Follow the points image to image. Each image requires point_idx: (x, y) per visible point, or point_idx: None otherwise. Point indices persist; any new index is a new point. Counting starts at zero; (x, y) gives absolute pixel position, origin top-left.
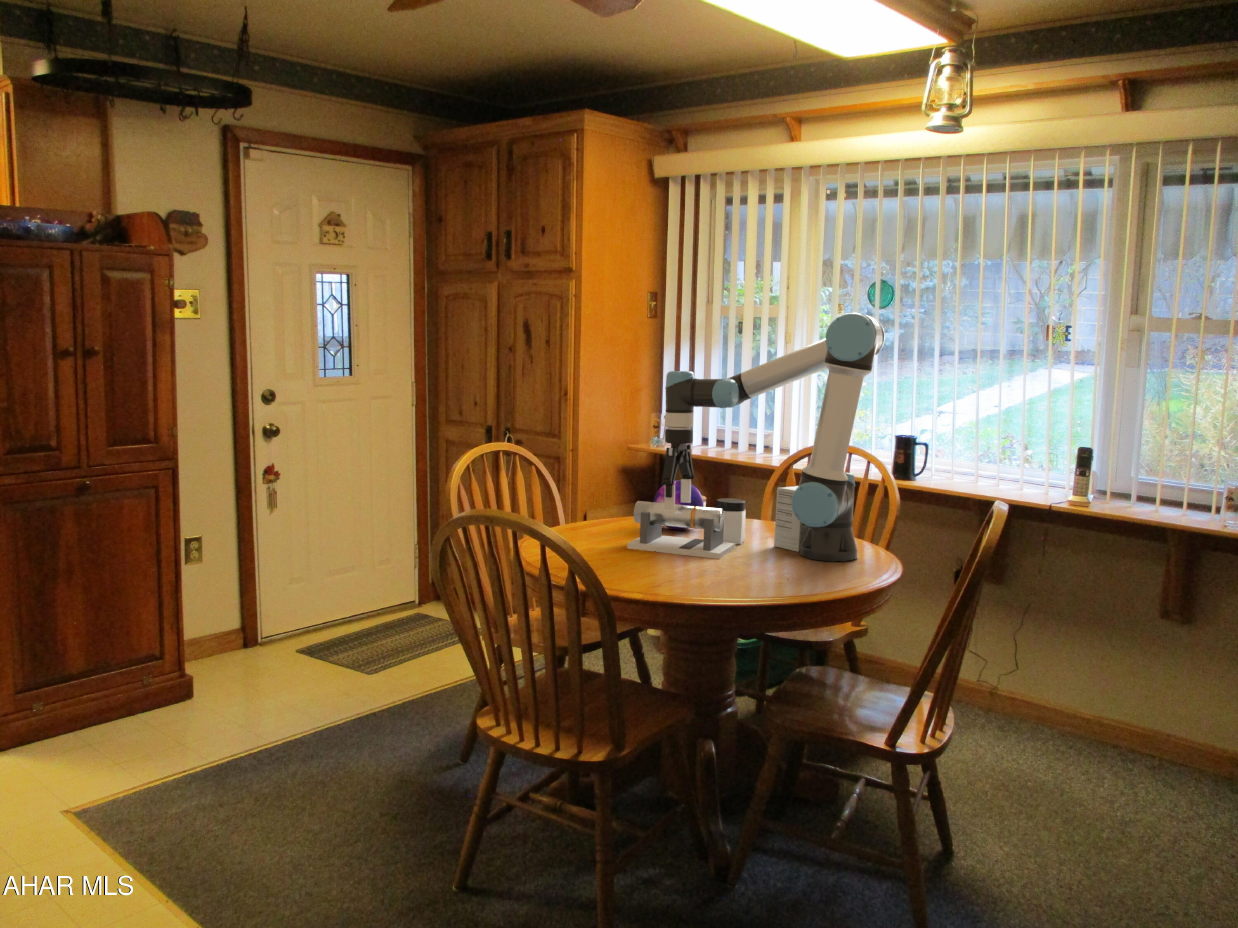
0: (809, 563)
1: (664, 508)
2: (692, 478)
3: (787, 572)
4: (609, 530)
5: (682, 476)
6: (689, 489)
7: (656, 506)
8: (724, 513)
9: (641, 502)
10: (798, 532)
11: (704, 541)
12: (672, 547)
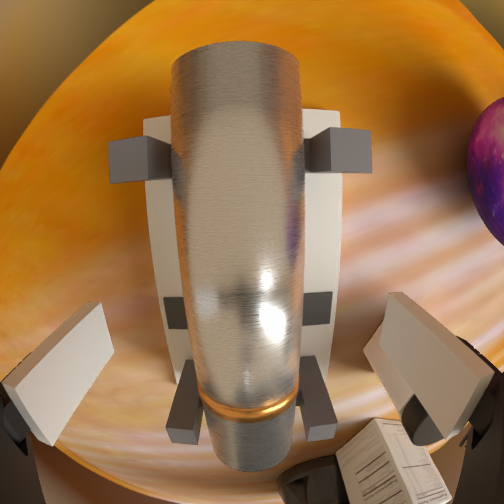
0: (251, 475)
1: (86, 304)
2: (461, 442)
3: (167, 463)
4: (378, 2)
5: (498, 396)
6: (414, 390)
7: (187, 200)
8: (401, 399)
9: (206, 75)
10: (344, 478)
11: (181, 377)
12: (162, 276)
